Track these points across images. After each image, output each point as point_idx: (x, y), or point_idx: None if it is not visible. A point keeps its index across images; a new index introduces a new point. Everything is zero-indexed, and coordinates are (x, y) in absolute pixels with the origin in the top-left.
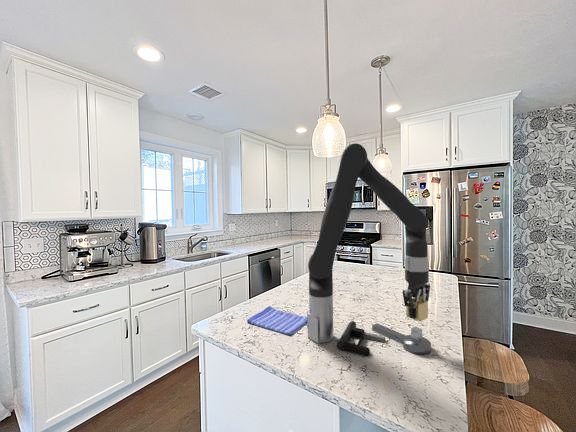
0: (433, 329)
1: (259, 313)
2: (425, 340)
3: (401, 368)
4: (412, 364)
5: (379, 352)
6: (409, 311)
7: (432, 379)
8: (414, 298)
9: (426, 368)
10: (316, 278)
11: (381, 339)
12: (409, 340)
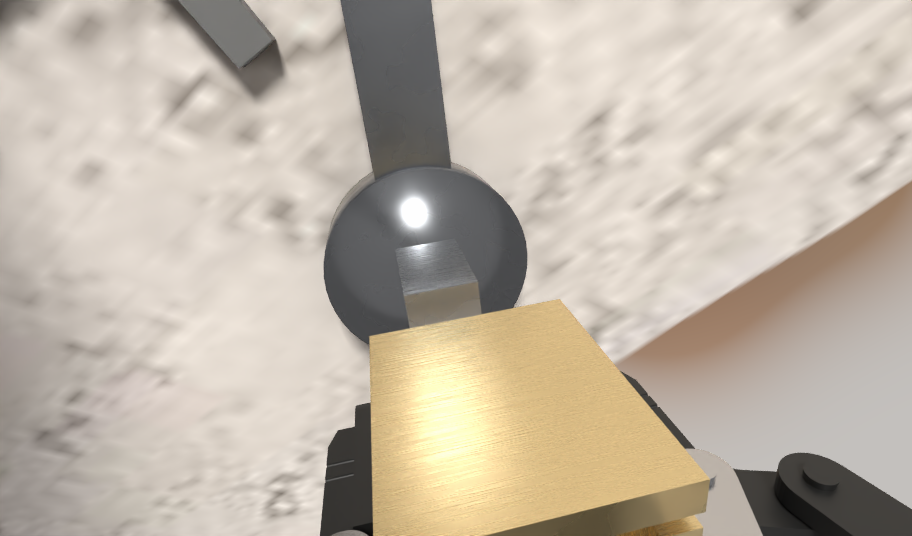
0: (779, 117)
1: None
2: (495, 291)
3: (128, 375)
4: (233, 369)
5: (86, 170)
6: (326, 498)
7: (234, 485)
8: (643, 523)
9: (284, 419)
10: None
11: (216, 39)
12: (386, 239)
